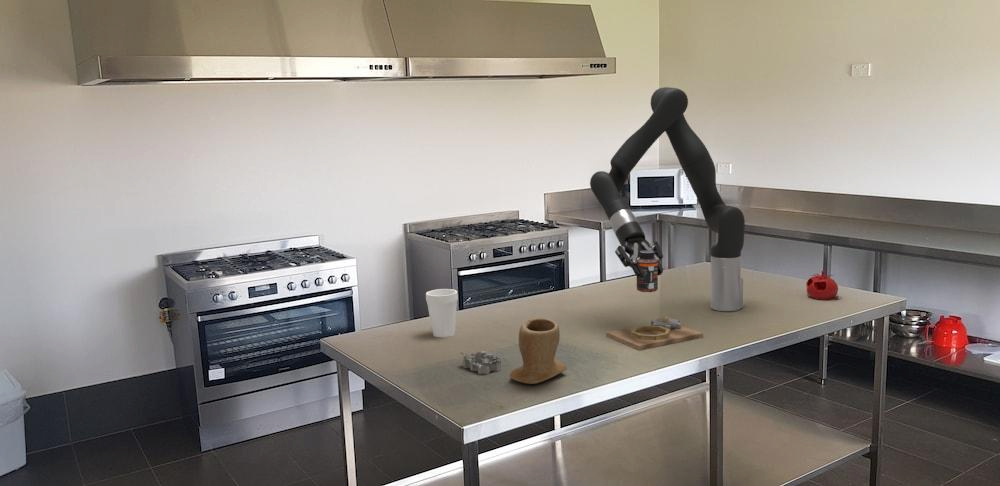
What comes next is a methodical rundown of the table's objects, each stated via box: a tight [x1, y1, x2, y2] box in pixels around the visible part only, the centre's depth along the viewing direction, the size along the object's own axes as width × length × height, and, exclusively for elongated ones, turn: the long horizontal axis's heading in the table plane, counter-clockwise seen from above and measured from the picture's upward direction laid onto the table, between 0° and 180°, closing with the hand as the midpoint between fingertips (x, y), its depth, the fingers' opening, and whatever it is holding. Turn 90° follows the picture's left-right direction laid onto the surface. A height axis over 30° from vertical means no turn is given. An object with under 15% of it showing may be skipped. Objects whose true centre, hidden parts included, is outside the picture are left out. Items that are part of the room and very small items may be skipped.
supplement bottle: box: [636, 250, 659, 293], centre depth 221 cm, size 6×6×11 cm
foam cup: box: [425, 288, 459, 338], centre depth 234 cm, size 10×9×13 cm
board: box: [605, 316, 704, 351], centre depth 223 cm, size 22×16×4 cm
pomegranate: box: [805, 270, 839, 300], centre depth 259 cm, size 10×10×9 cm
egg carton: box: [460, 350, 503, 375], centre depth 202 cm, size 11×8×4 cm
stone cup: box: [509, 317, 568, 385], centre depth 191 cm, size 15×12×15 cm
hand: (651, 274), depth 219 cm, fingers closed on supplement bottle, 6 cm apart
